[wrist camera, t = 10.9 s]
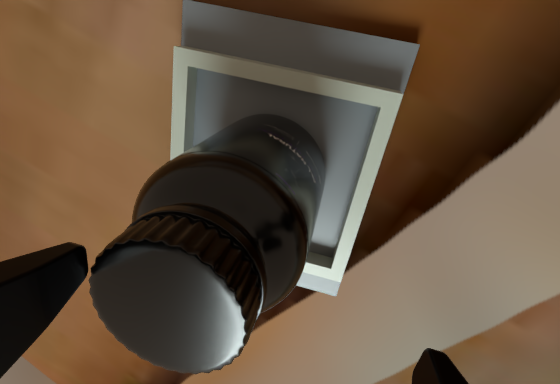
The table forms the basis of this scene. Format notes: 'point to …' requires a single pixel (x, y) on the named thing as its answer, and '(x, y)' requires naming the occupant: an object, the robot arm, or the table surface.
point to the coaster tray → (295, 105)
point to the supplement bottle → (212, 244)
